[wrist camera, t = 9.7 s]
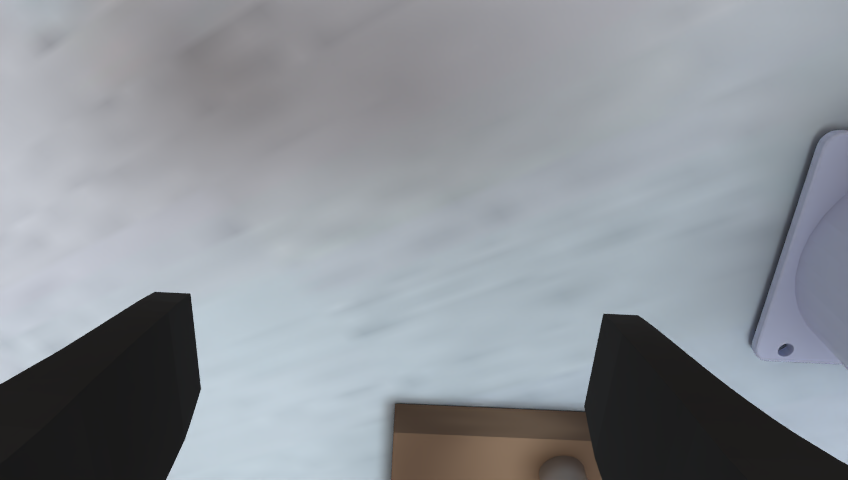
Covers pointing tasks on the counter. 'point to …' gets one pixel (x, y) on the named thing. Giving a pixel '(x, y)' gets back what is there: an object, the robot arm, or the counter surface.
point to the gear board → (490, 444)
